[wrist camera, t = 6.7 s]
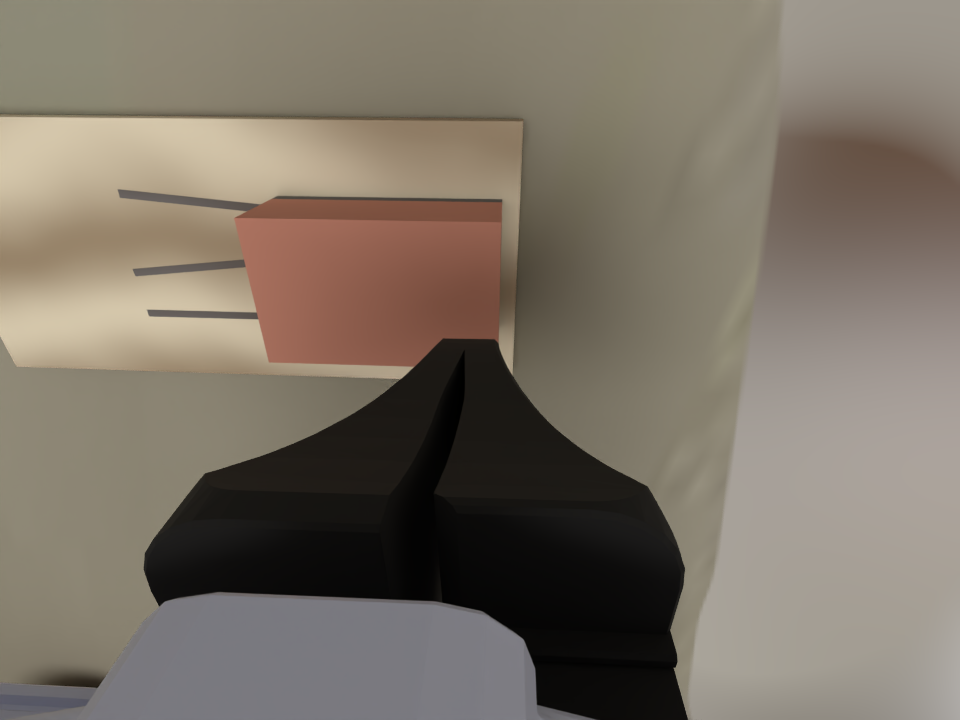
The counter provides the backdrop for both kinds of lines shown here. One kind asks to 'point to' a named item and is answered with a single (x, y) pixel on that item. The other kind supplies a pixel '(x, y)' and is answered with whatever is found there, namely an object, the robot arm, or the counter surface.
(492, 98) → the counter surface
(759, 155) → the counter surface
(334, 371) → the plank
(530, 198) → the counter surface
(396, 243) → the block
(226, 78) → the counter surface
